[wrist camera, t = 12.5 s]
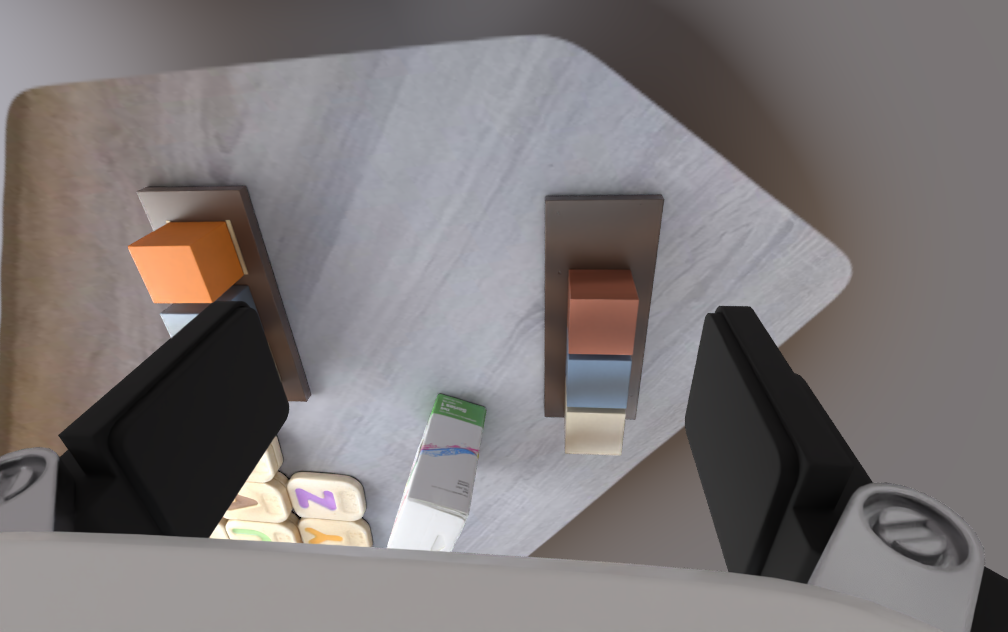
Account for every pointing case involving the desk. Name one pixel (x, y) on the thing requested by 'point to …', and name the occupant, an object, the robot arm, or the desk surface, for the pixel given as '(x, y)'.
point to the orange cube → (187, 262)
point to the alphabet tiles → (296, 507)
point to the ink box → (441, 478)
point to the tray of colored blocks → (254, 261)
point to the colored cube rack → (597, 312)
